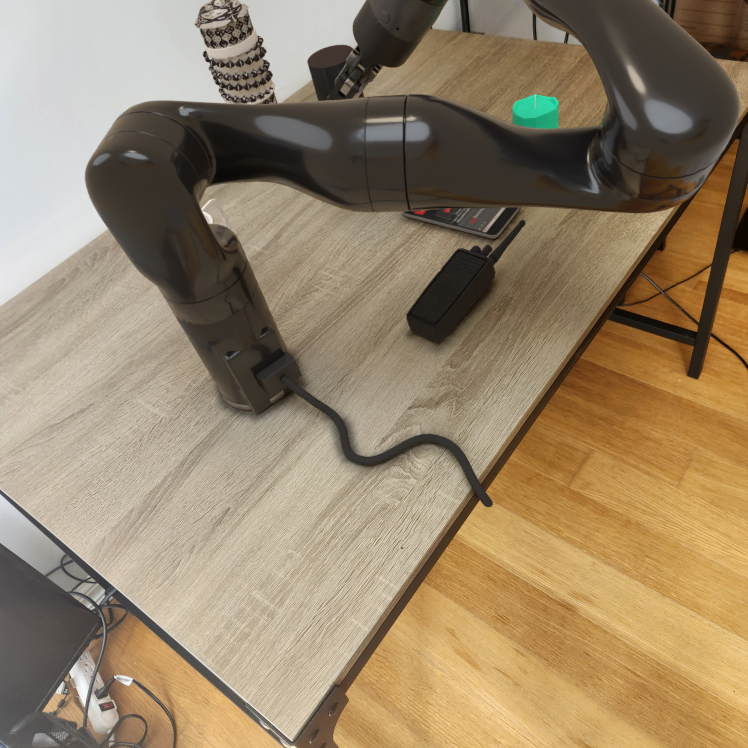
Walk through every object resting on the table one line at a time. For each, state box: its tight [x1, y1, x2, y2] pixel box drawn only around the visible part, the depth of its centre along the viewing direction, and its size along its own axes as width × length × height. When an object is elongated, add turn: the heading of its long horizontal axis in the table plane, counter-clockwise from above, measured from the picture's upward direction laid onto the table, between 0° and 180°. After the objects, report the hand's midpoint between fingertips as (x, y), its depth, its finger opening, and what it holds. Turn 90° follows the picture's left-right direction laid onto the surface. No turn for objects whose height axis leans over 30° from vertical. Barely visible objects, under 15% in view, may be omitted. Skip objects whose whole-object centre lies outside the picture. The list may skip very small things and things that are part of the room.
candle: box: [511, 93, 560, 129], centre depth 89 cm, size 6×6×12 cm
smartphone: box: [403, 207, 520, 240], centre depth 91 cm, size 7×1×15 cm
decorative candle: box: [194, 0, 279, 104], centre depth 101 cm, size 9×9×25 cm
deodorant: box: [306, 44, 365, 101], centre depth 86 cm, size 6×6×15 cm
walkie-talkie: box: [405, 219, 527, 345], centre depth 78 cm, size 6×6×20 cm
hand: (332, 110), depth 86 cm, fingers closed on deodorant, 6 cm apart
